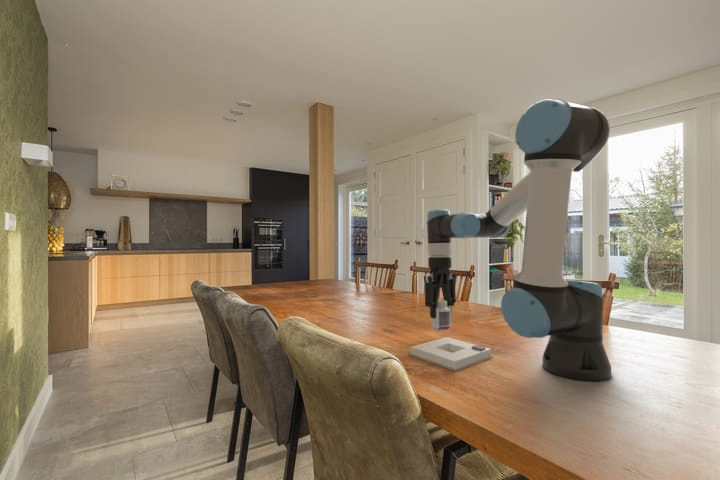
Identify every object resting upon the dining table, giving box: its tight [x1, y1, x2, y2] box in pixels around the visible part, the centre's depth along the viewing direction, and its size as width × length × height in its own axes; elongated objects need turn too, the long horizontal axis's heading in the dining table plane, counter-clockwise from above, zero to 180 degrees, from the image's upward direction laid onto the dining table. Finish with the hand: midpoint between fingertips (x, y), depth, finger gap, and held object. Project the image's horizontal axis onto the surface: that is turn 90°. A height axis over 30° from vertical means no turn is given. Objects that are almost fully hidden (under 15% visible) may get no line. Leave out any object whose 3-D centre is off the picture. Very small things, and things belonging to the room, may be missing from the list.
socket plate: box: [408, 336, 493, 372], centre depth 105 cm, size 17×17×3 cm
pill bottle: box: [432, 299, 451, 333], centre depth 122 cm, size 5×5×10 cm
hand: (441, 326), depth 122 cm, fingers closed on pill bottle, 5 cm apart
